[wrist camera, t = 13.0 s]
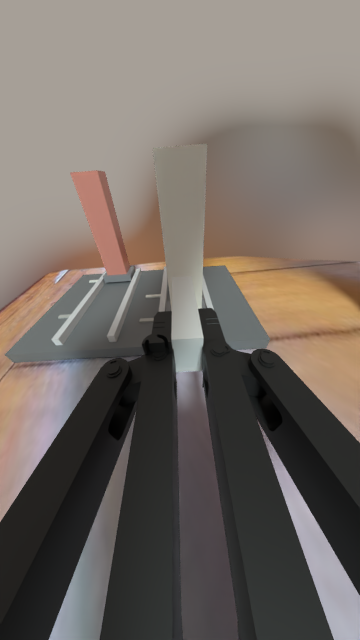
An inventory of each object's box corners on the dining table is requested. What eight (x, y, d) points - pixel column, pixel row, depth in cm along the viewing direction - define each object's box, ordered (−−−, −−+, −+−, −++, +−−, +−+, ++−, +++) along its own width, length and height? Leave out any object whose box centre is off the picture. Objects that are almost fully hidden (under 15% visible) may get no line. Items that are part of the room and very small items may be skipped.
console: (224, 272, 35) (225, 260, 33) (266, 348, 19) (272, 332, 17) (86, 281, 36) (81, 270, 34) (13, 362, 20) (-3, 349, 18)
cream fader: (203, 305, 23) (209, 150, 13) (207, 325, 20) (220, 141, 10) (167, 308, 23) (147, 155, 13) (166, 327, 20) (139, 147, 10)
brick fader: (135, 271, 33) (111, 171, 24) (131, 280, 30) (101, 169, 20) (111, 273, 33) (76, 174, 24) (105, 282, 30) (62, 172, 21)
